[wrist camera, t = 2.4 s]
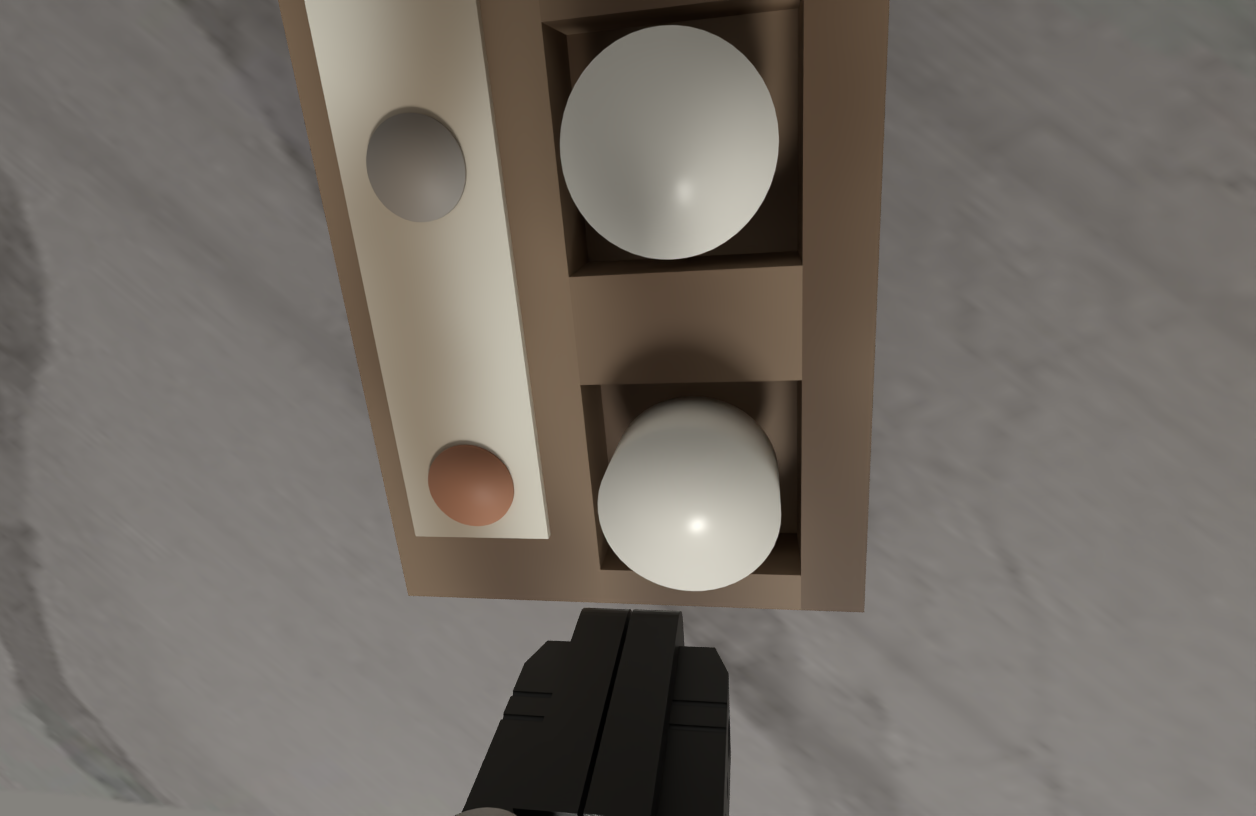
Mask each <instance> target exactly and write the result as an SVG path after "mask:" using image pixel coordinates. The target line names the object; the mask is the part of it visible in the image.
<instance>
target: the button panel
mask: <svg viewBox="0 0 1256 816" xmlns="http://www.w3.org/2000/svg"><path fill="white" fill-rule="evenodd" d="M278 2H279V7H280V11H281V16H282V20H283V25H284V29H285V34H286V38H287V43H288V48H289V52H290V57H291V61H292V66H293V70H294V75H295V80H296V84H297V89H298V93H299V98H300V102H301V107H302V112H303V116H304V121H305V125H306V130H307V134H308V139H309V144H310V148H311V153H312V157H313V162H314V166H315V171H316V175H317V180H318V185H319V189H320V194H321V198H322V203H323V207H324V212H325V217H326V221H327V226H328V230H329V235H330V239H331V244H332V249H333V253H334V258H335V262H336V267H337V271H338V276H339V281H340V285H341V290H342V294H343V299H344V303H345V308H346V313H347V317H348V322H349V326H350V331H351V335H352V340H353V344H354V349H355V354H356V358H357V363H358V367H359V372H360V376H361V381H362V386H363V390H364V395H365V399H366V404H367V408H368V413H369V418H370V422H371V427H372V431H373V436H374V440H375V445H376V450H377V454H378V459H379V463H380V468H381V472H382V477H383V481H384V486H385V491H386V495H387V500H388V504H389V509H390V513H391V518H392V523H393V527H394V532H395V536H396V541H397V545H398V550H399V555H400V559H401V564H402V568H403V573H404V577H405V582H406V587H407V591H408V596H433V597H460V598H487V599H514V600H542V601H569V602H596V603H623V604H651V605H678V606H705V607H732V608H759V609H787V610H814V611H841V612H864V602H865V577H866V553H867V529H868V505H869V481H870V457H871V433H872V408H873V384H874V360H875V336H876V312H877V288H878V263H879V239H880V215H881V191H882V167H883V143H884V119H885V94H886V70H887V46H888V22H889V0H278ZM664 25H679V26H688V27H693V28H697V29H700V30H704V31H707V32H709V33H711V34H714V35H716V36H718V37H720V38H722V39H723V40H725V41H727V42H728V43H730V44H731V45H733V46H734V47H735V48H736V49H737V50H739V51H740V52H741V53H742V54H743V55H744V56H745V57H746V58H747V59H748V60H749V61H750V62H751V63H752V65H753V66H754V67H755V68H756V70H757V71H758V73H759V74H760V76H761V77H762V79H763V81H764V83H765V85H766V87H767V89H768V91H769V93H770V96H771V99H772V102H773V105H774V108H775V112H776V117H777V122H778V133H779V147H778V158H777V164H776V169H775V173H774V176H773V179H772V182H771V185H770V188H769V190H768V192H767V194H766V196H765V199H764V200H763V202H762V204H761V205H760V207H759V208H758V210H757V212H756V213H755V214H754V216H753V217H752V218H751V219H750V221H749V222H748V223H747V224H746V225H745V226H744V227H743V228H742V229H741V230H740V231H739V232H738V233H737V234H735V235H734V236H733V237H731V238H730V239H729V240H727V241H726V242H725V243H723V244H721V245H719V246H718V247H716V248H714V249H712V250H710V251H707V252H705V253H702V254H699V255H696V256H692V257H688V258H681V259H654V258H647V257H643V256H640V255H636V254H633V253H630V252H628V251H626V250H623V249H621V248H619V247H618V246H616V245H614V244H613V243H611V242H609V241H608V240H607V239H605V238H604V237H603V236H602V235H600V234H599V233H598V232H597V231H596V230H595V229H594V228H593V227H592V226H591V225H590V224H589V223H588V222H587V220H586V219H585V218H584V216H583V215H582V214H581V212H580V211H579V209H578V208H577V206H576V204H575V202H574V201H573V199H572V197H571V194H570V192H569V190H568V187H567V184H566V181H565V178H564V174H563V170H562V164H561V158H560V133H561V125H562V119H563V114H564V111H565V108H566V105H567V101H568V98H569V96H570V94H571V92H572V90H573V88H574V86H575V84H576V82H577V80H578V79H579V77H580V76H581V74H582V73H583V71H584V70H585V69H586V67H587V66H588V65H589V64H590V63H591V61H592V60H593V59H594V58H595V57H596V56H597V55H599V54H600V53H601V52H602V51H603V50H604V49H605V48H607V47H608V46H609V45H611V44H612V43H614V42H615V41H617V40H619V39H620V38H622V37H624V36H626V35H628V34H630V33H633V32H636V31H639V30H642V29H645V28H650V27H655V26H664ZM685 396H701V397H708V398H714V399H717V400H720V401H724V402H726V403H728V404H731V405H733V406H735V407H737V408H738V409H740V410H742V411H744V412H745V413H746V414H747V415H749V416H750V417H751V418H753V419H754V420H755V421H756V422H757V423H758V424H759V425H760V426H761V428H762V429H763V430H764V432H765V433H766V434H767V436H768V438H769V440H770V441H771V443H772V445H773V448H774V451H775V453H776V457H777V461H778V470H779V485H780V503H781V524H780V529H779V534H778V537H777V540H776V542H775V545H774V547H773V549H772V550H771V552H770V554H769V555H768V557H767V558H766V559H765V560H764V562H763V563H762V564H761V565H760V566H759V567H758V568H757V569H756V570H755V571H753V572H752V573H751V574H749V575H748V576H747V577H745V578H743V579H741V580H739V581H738V582H736V583H733V584H731V585H728V586H725V587H722V588H718V589H713V590H706V591H685V590H677V589H672V588H668V587H665V586H662V585H659V584H656V583H654V582H652V581H649V580H647V579H645V578H644V577H642V576H640V575H639V574H637V573H636V572H634V571H633V570H632V569H630V568H629V567H628V566H627V565H626V564H625V563H624V562H623V561H621V560H620V558H619V557H618V556H617V555H616V554H615V552H614V551H613V550H612V548H611V547H610V545H609V543H608V542H607V540H606V538H605V536H604V533H603V531H602V528H601V525H600V521H599V515H598V494H599V489H600V485H601V481H602V479H603V477H604V475H605V472H606V470H607V468H608V466H609V463H610V461H611V459H612V457H613V455H614V452H615V450H616V448H617V446H618V443H619V441H620V439H621V437H622V435H623V433H624V432H625V430H626V429H627V427H628V426H629V425H630V424H631V422H632V421H633V420H634V419H635V418H636V417H637V416H638V415H640V414H641V413H642V412H644V411H645V410H646V409H648V408H649V407H651V406H653V405H655V404H657V403H660V402H662V401H665V400H668V399H672V398H677V397H685Z"/></svg>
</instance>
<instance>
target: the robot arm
mask: <svg viewBox="0 0 1256 816" xmlns="http://www.w3.org/2000/svg"><path fill="white" fill-rule="evenodd" d="M730 763H731V746H730V710H729V674H728V671H727V670H726V668H725V666H724V664H723V662H722V660H721V658H720V656H719V654H718V653H717V651H716V649H715V648H709V647H687V646H684V632H683V617H682V612H681V611H666V610H638V609H634V610H633V612H632V611H631V609H604V608H583V609H582V611H581V613H580V616H579V619H578V622H577V625H576V627H575V630H574V633H573V636H572V639H571V642H568V641H547V642H546V643H545V644H544V645H543V646H542V647H541V648H540V649H539V650H538V651H537V652H536V653H535V654H534V655H533V656H532V657H531V658H530V659H528V660H527V661H526V662H525V664H524V666H523V668H522V671H521V673H520V675H519V678H518V680H517V683H516V685H515V687H514V690H513V696H511V697H510V699H509V702H508V704H507V706H506V709H505V711H504V716H503V720H501V721H500V723H499V725H498V728H497V730H496V733H495V735H494V737H493V740H492V742H491V744H490V747H489V749H488V752H487V754H486V756H485V759H484V761H483V763H482V766H481V768H480V771H479V773H478V775H477V778H476V780H475V783H474V785H473V787H472V790H471V792H470V794H469V797H468V799H467V802H466V804H465V806H464V808H463V810H462V812H461V813H459V814H457V815H455V816H729V800H730Z"/></svg>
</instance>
